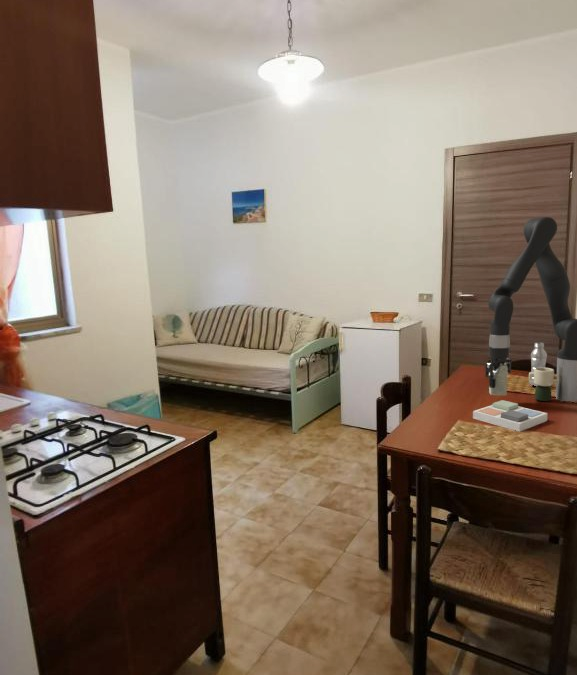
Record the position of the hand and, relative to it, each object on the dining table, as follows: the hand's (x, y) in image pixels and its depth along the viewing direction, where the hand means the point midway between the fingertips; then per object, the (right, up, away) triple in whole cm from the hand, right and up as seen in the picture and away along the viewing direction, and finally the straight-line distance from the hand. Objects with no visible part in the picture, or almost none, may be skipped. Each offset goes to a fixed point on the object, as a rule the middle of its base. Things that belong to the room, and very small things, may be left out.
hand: (497, 385), depth 193 cm
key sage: (-3, -7, -12) cm, 14 cm away
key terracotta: (-10, -9, -17) cm, 21 cm away
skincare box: (0, -4, +1) cm, 4 cm away
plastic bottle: (+27, -3, +22) cm, 35 cm away
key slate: (+2, -9, -20) cm, 22 cm away
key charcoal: (-5, -9, -24) cm, 26 cm away
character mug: (+20, -6, +3) cm, 21 cm away
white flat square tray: (-4, -10, -18) cm, 21 cm away
